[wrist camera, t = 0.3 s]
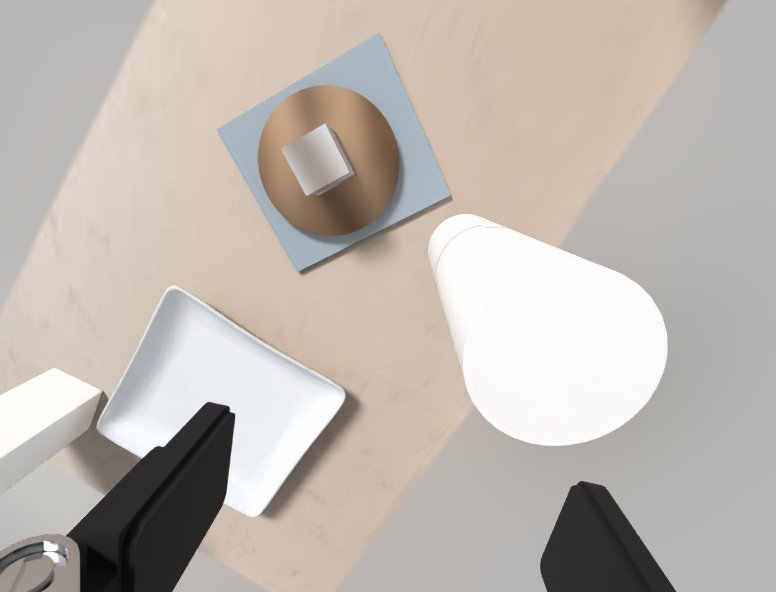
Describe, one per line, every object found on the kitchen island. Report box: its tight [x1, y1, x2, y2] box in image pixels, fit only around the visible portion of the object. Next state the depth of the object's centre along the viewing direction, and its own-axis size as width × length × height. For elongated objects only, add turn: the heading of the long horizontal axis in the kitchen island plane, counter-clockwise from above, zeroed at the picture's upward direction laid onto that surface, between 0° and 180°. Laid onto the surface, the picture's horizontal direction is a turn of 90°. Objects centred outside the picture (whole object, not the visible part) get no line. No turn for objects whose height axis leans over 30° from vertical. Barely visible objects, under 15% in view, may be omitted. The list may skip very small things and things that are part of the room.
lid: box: [258, 85, 399, 236], centre depth 33 cm, size 13×13×6 cm
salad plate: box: [96, 285, 346, 517], centre depth 42 cm, size 21×21×3 cm
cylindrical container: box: [428, 214, 667, 446], centre depth 26 cm, size 7×7×25 cm
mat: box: [217, 32, 451, 272], centre depth 36 cm, size 17×15×1 cm
